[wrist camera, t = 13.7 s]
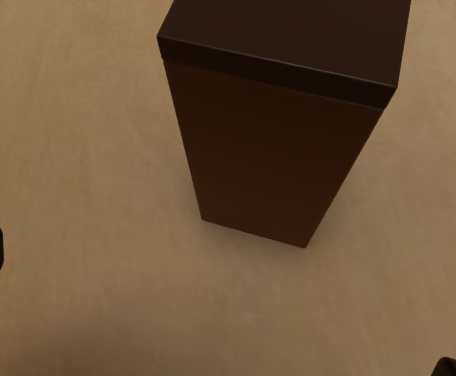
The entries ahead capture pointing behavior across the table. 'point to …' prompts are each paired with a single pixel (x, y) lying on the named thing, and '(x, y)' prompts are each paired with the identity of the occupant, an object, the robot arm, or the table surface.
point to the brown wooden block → (278, 102)
